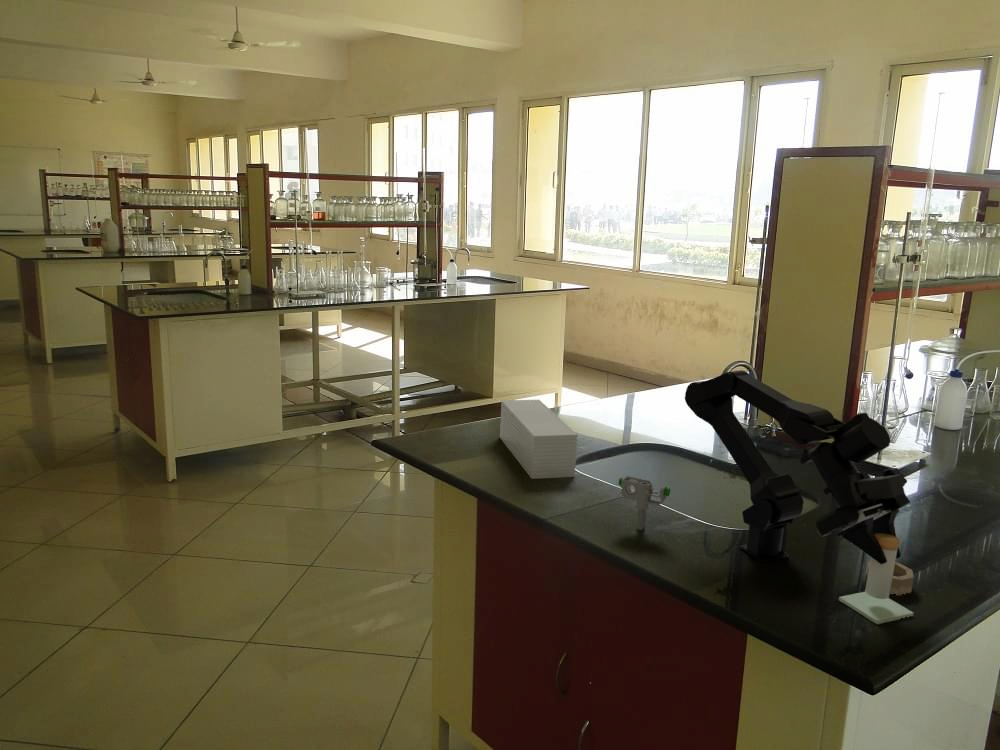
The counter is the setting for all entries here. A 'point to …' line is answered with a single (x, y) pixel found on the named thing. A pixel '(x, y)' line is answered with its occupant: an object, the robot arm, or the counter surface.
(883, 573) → the bottle with orange cap
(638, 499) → the mechanical component
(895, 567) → the beige hollow ring
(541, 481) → the counter surface
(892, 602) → the mat
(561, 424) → the stack of papers
